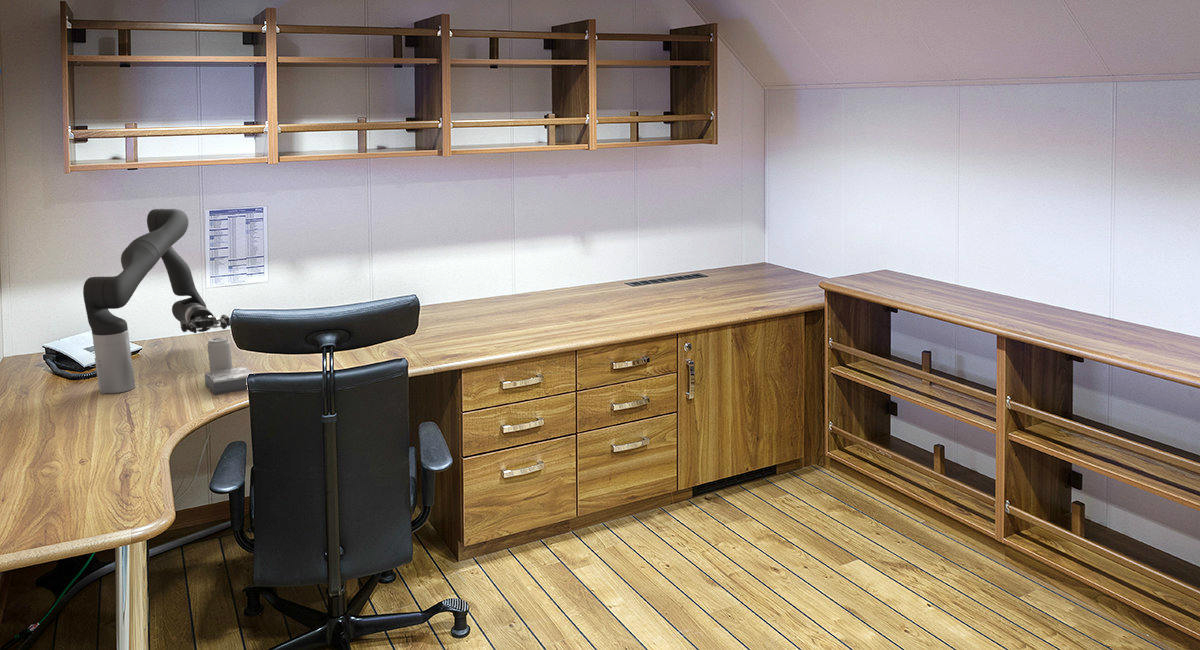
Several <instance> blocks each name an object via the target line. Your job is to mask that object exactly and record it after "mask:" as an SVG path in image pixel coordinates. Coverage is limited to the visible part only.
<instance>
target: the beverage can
mask: <svg viewBox="0 0 1200 650" xmlns="http://www.w3.org/2000/svg"><path fill="white" fill-rule="evenodd" d="M207 341H208V342H207V344H206V346H207V353H208V364H209V372H212V371H218V370H225V369H231V368H234V366H233V359H232V348H231V342H230V340H229V337H227V336H226V337H225V336H218V337H213V338H212V337H211V338H209V339H208V340H207Z"/></svg>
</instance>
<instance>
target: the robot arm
mask: <svg viewBox="0 0 1200 650" xmlns="http://www.w3.org/2000/svg"><path fill="white" fill-rule="evenodd" d="M146 217H147V218H146V224H147V229H148V232H147V233H145V234H143V235H140V236H138V237H136V238H135V239H133V240H132V241H131V242H130V243H129V244H128V245H127V246H126V247H125V249H124V250H123V251H122V253H121V257H120V265H121V268H122V269H123V270H122V271H121V272H120V273H119V274H117V275H114V276H91V277H88V278H87V279H86V280H84V283H83V286H82V287H83V290H82V295H83V301H84V306H85V307H84V308H85V312H86V316H87V322H88V325H89V327H90V328H91V335H92V343H93V349H94V356H95V357H94V361H95V362H94V364H95V370H96V377H97V385H98V390H99V392H100V394H102V395H104V394H117V393H118V394H119V393H124V392H128V391H131V390H133V389H135V388H136V381H135V375H134V366H133V359H132V351H131V344H130V343H131V342H130V336H129V328H128V322H127V321H126V319H123V318H121V317H119V316H116V315H115V314H113V313H111V311H110V310H116V309H122V308H124V307H125V306H126V305H127V304H128V303H129V302H130V300H131V298H132V297H133V295H134V293H135V291H136V290H137V289H138V287H139V285H140V283H142V281H143V280H144V278H145V277H146V276H147V275H148V273H149V272H150V271H151V270H152V269H153V268H154V267H155V265H156V264H157V263H158V262H159V261H160V259H161V260H162V262H163V265H164V267H165V269H166V272H167V275H168V279H169V283H170V286H171V289H172V290H171V291H172V293H173V294H174V295H175V296H177V297H188V298H183V299H180V300H177V301H175V302H174V303H173V304H172V306H171V312H172V315H173V317H174V319H176V320H177V321H178V322H179V325H180V329H181V331H182V333H186V332H190V333H193V334H197V333H198V332H199V333H204V332H208V331H209V330H211V329H218V328H221V329H222V330H226V328H227V327H230V326H231V325H230V324H231V319H230V317H229V316H228V315H227V314H221V316H220V317H219V316H215V315H214V314H213V313H212V312H211V311H210V310H209V309H208V308H207V305H206V302H205V301H204V299H203V298H202V296H201V295H200V293H199V292H198V290H197V287H196V285H195V281H194V277H193V274H192V270H191V269H190V266H189V264H188V263H187V262H186V261H185V260H184V259H183V257H182V256H181V255H180V254H179V253H178V252H177V251H176V250H175V249H174V247H173V245H174V244H176V243H177V242H178V241H179V240H180V239H181V238H182V237H183V236H184V235H186V233H187V231H188V227H189V217H188V215H187V213H186V212H185V211H183V210H182V209H177V208H153V209H152V210H150V211H149V212H148V214H147V216H146Z"/></svg>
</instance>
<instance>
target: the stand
mask: <svg viewBox="0 0 1200 650" xmlns="http://www.w3.org/2000/svg"><path fill="white" fill-rule="evenodd" d="M249 374H254V373H253V372H252V371H251V370H250V369H249V368H248V367H247V366H239V367H233V368H231V369H225V370H218V371H212V372H210V371H207V372H205V373H204V381H205V382H204V383H205V386H206V388H207V389H209V391H210V393H212V395H213V396H219V395H224V393H225V394H231V393H237V392H243V391H248V390H247V385H246V378H247V376H248V375H249ZM236 391H237V392H236ZM230 392H231V393H230ZM218 394H219V395H218Z"/></svg>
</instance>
